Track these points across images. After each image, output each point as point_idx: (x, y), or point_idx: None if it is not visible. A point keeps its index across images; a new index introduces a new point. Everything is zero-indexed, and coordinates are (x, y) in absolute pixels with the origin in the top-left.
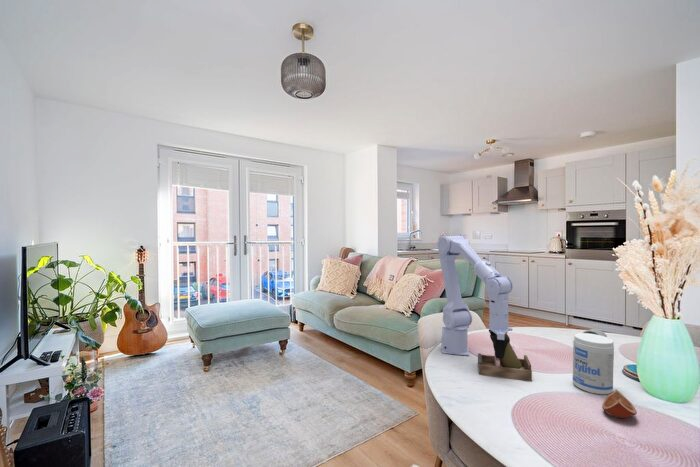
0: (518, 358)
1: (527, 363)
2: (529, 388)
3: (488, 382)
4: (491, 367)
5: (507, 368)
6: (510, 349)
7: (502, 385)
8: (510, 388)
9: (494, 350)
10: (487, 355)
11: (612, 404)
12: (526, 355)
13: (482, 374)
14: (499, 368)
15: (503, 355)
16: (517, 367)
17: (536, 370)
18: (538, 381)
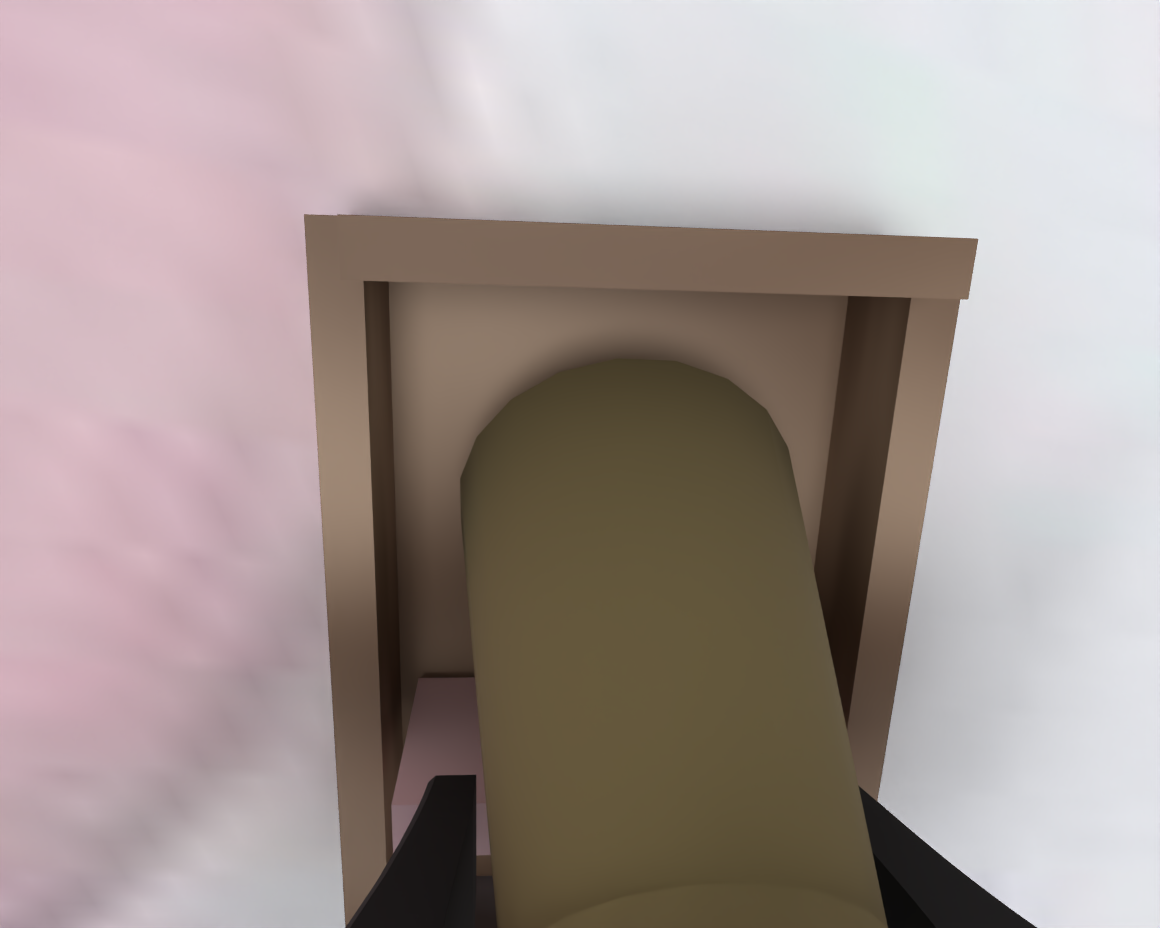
0: (316, 374)
1: (853, 295)
2: (1124, 322)
3: (1006, 787)
4: None
5: (901, 632)
6: (833, 749)
7: (1070, 644)
8: (1145, 562)
9: (474, 916)
10: (367, 890)
11: None
12: (348, 219)
13: None
14: (879, 734)
15: (883, 812)
16: (787, 459)
17: (385, 40)
18: (868, 127)
